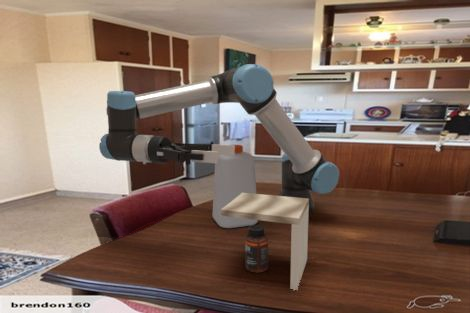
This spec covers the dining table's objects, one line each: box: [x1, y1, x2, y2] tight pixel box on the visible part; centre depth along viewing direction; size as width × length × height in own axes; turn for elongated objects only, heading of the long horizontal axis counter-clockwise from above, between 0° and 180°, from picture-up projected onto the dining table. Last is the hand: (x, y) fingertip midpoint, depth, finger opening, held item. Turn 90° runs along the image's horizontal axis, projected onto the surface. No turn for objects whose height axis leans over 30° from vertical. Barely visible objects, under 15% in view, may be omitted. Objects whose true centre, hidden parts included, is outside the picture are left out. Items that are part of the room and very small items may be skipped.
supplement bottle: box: [244, 224, 269, 274], centre depth 85 cm, size 6×6×11 cm
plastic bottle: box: [212, 144, 259, 229], centre depth 118 cm, size 15×15×28 cm
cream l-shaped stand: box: [221, 193, 310, 291], centre depth 84 cm, size 19×16×18 cm
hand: (226, 153), depth 84 cm, fingers open, 13 cm apart
